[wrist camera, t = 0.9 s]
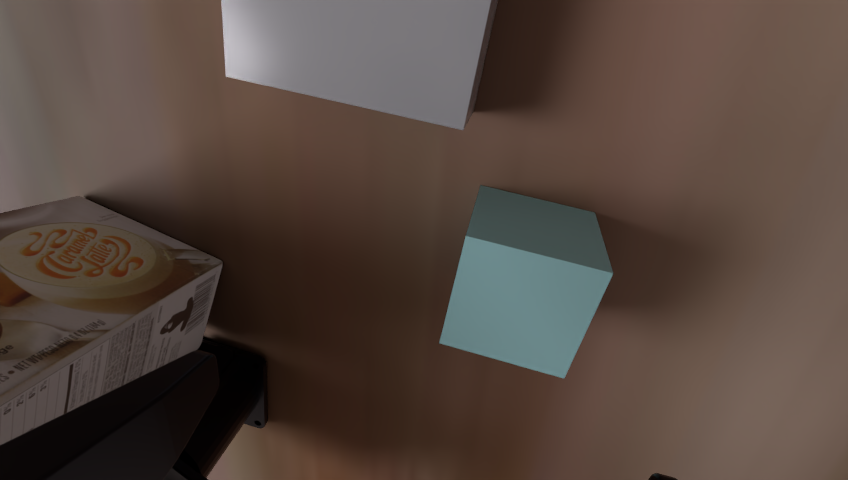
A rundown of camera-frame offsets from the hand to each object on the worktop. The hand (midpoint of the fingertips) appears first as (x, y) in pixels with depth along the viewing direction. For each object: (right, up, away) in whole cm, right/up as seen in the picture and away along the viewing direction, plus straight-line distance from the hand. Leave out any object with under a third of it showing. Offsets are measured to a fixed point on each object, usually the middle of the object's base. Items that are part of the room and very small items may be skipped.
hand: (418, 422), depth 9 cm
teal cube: (+5, +3, +11) cm, 13 cm away
